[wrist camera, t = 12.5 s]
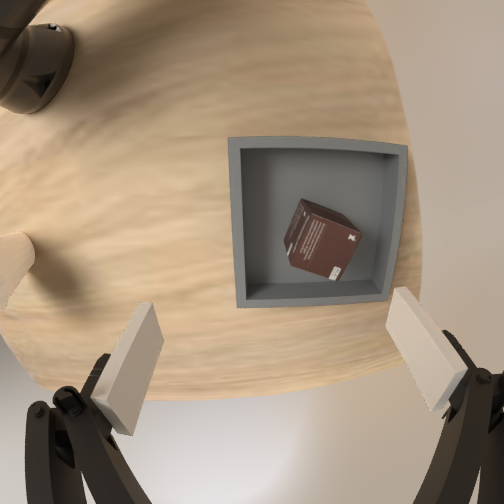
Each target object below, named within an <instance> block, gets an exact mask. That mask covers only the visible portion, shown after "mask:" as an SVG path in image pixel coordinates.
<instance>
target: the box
mask: <svg viewBox="0 0 504 504" xmlns="http://www.w3.org/2000/svg"><path fill="white" fill-rule="evenodd" d="M361 237H362V232H360V231H359V229H358V228H356V227H355V226H354V225H353V224H352V223H351V222H350V221H349V220H348V219H347V218H346V217H345V216H344V215H343V214H341V213H338V212H336V211H333V210H331V209H328V208H326V207H323V206H321V205H318V204H316V203H313V202H310V201H308V200H305V199H301V200H300V202H299V204H298V206H297V208H296V211H295V213H294V216H293V218H292V220H291V223H290V225H289V228H288V230H287V233H286V235H285V237H284V245H285V248H286V252H287V255H288V259H289V262H290V266H292V267H295V268H298V269H301V270H304V271H308V272H311V273H314V274H317V275H320V276H323V277H326V278H329V279H332V280H335V281H339V280H340V279H341V277H342V275H343V273H344V271H345V269H346V267H347V265H348V263H349V262H350V261H351V259H352V257H353V254H354V251H355V249H356V247H357V245H358V243H359V241H360V239H361Z"/></svg>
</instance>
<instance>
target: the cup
mask: <svg viewBox="0 0 504 504" xmlns="http://www.w3.org/2000/svg"><path fill="white" fill-rule="evenodd" d="M34 261H35V251H34V247H33V244H32V242H31V240H30V239H29V237H28V236H27V235H26V234H25V233H23V232H14V233H9V234H3V235H0V312H1V311H2V310H3V309H5V307H6V306H7V303H8V299H9V298H10V296H11V295H12V293H13V292H14V290H15V289H16V287H17V286H18V284H19V283H20V281H21V280H22V279H23V277H24V276H25V274H26V273H27V272H28V270H29V269H30V267H31V266H32V265H33V263H34Z"/></svg>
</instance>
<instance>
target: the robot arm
mask: <svg viewBox="0 0 504 504" xmlns="http://www.w3.org/2000/svg"><path fill="white" fill-rule="evenodd" d="M49 1H50V0H0V106H2V107H4V108H6V109H8V110H10V111H12V112H14V113H19V114H24V113H33V112H36V111H38V110H40V109H41V108H43V107H44V106H45V105H47V104H48V103H49V102H50V101H51V100H52V98H53V97H54V96H55V95H56V93H57V92H58V90H59V89H60V87H61V86H62V84H63V82H64V80H65V78H66V76H67V74H68V71H69V69H70V66H71V62H72V58H73V52H74V42H73V37H72V35H71V33H70V31H69V30H68V29H66V28H64V27H62V26H60V25H57V24H39V25H30V26H28V24H29V23H30V22H31V21H32V20H33V18H34V17H35V16H36V15H37V14H38V13H39V12H40V10H41V9H42V8H43V7H44V6H45V5H46V4H47V3H48V2H49ZM385 327H386V329H387V331H388V333H389V334H390V336H391V338H392V340H393V341H394V343H395V345H396V347H397V349H398V350H399V352H400V354H401V356H402V358H403V359H404V361H405V363H406V365H407V367H408V369H409V371H410V372H411V374H412V376H413V378H414V380H415V382H416V384H417V386H418V388H419V390H420V392H421V394H422V396H423V398H424V400H425V402H426V404H427V406H428V408H429V410H430V412H433V411H436V410H438V409H441V408H443V407H444V405H445V404H446V403H447V401H448V400H449V402H450V404H451V405H450V407H449V408H448V409H447V411H446V412H445V414H444V415H443V417H442V419H444V417H445V416H446V415H447V416H446V420H445V423H444V427H443V430H442V433H441V436H440V439H439V442H438V445H437V448H436V451H435V454H434V456H433V459H432V462H431V464H430V467H429V469H428V472H427V474H426V476H425V479H424V481H423V483H422V485H421V488H420V490H419V492H418V494H417V496H416V499H415V500H414V502H413V504H469V501H470V498H471V496H472V493H473V490H474V487H475V484H476V480H477V477H478V474H479V470H480V466H481V470H480V484H479V494H478V501H477V504H504V412H503V407H504V371H503V373H502V374H491V373H490V372H489V371H488V370H487V369H484V368H477V367H476V366H475V364H474V363H473V361H472V360H471V358H470V357H469V356H468V354H467V353H466V352H465V350H464V349H462V346H461V345H460V344H459V343H458V341H457V339H456V338H455V337H454V335H452V334H451V333H449V332H448V331H447V330H443V331H441V330H440V328H439V327H438V326H437V324H436V323H435V322H434V321H433V319H432V318H431V317H430V315H429V314H428V313H427V312H426V311H425V309H424V308H423V307H422V306H421V304H420V303H419V302H418V301H417V299H416V298H415V297H414V296H413V294H412V293H411V292H410V291H409V290H408V289H407V287H406V286H405V287H396V288H394V292H393V297H392V301H391V305H390V309H389V313H388V317H387V321H386V325H385ZM163 343H164V339H163V336H162V333H161V330H160V327H159V323H158V320H157V317H156V313H155V310H154V307H153V303H152V302H140V303H139V305H138V306H137V308H136V310H135V312H134V313H133V315H132V317H131V319H130V321H129V322H128V324H127V326H126V328H125V330H124V331H123V333H122V335H121V337H120V339H119V341H118V343H117V345H116V346H115V348H114V350H113V352H112V354H106V353H104V354H103V355H102V356H101V357H100V358H99V359H98V360H97V362H96V364H95V365H94V367H93V370H92V371H91V373H90V376H89V377H88V379H87V381H86V383H85V384H84V386H83V388H82V390H81V392H80V393H79V392H78V391H77V389H76V388H74V387H73V386H65V387H62V388H60V389H58V390H57V391H56V393H55V394H54V396H53V404H54V405H55V406H56V407H57V408H50V407H49V406H48V405H47V403H46V402H44V401H37V402H34V403H33V404H31V406H30V407H29V408H28V412H27V421H26V436H25V437H26V438H25V479H26V492H27V502H28V504H87V501H86V497H85V492H84V487H83V481H82V474H83V476H84V479H85V481H86V483H87V485H88V488H89V490H90V492H91V494H92V496H93V498H94V500H95V502H96V504H152V503H151V501H150V500H149V499H148V497H147V495H146V494H145V493H144V491H143V489H142V488H141V486H140V485H139V483H138V481H137V480H136V478H135V476H134V475H133V473H132V471H131V470H130V468H129V466H128V464H127V463H126V461H125V459H124V457H123V455H122V453H121V451H120V449H119V448H118V446H117V444H116V442H115V440H114V438H113V436H112V435H111V430H112V427H113V428H114V429H115V430H116V432H117V433H119V434H124V435H130V436H133V433H134V430H135V427H136V424H137V420H138V417H139V414H140V410H141V407H142V404H143V401H144V398H145V395H146V392H147V389H148V386H149V383H150V380H151V377H152V374H153V371H154V368H155V365H156V362H157V359H158V357H159V354H160V351H161V348H162V345H163ZM81 471H82V474H81Z"/></svg>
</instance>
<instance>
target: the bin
mask: <svg viewBox="0 0 504 504" xmlns="http://www.w3.org/2000/svg"><path fill="white" fill-rule="evenodd" d="M228 156H229V179H230V200H231V219H232V238H233V255H234V271H235V287H236V302H237V308H273V307H302V306H323V305H340V304H354V303H368V302H380V301H388V298H389V293H390V289H391V284H392V280H393V275H394V270H395V264H396V259H397V253H398V247H399V241H400V235H401V228H402V220H403V212H404V203H405V192H406V179H407V162H408V146H406V145H399V144H392V143H384V142H375V141H365V140H355V139H342V138H326V137H300V136H256V137H229V138H228ZM301 199H305V200H308V201H310V202H313V203H316V204H318V205H321V206H323V207H326V208H328V209H331V210H333V211H336V212H338V213H341V214H343V215H344V216H345V217H346V218H347V219H348V220H349V221H350V222H351V223H352V224H353V225H354V226H355V227H356V228H358V229H359V231H360V232H362V237H361V239H360V241H359V243H358V245H357V247H356V249H355V251H354V254H353V257H352V259H351V261H350V262H349V263H348V265H347V267H346V269H345V271H344V273H343V275H342V277H341V279H340V280H339V281H335V280H332V279H329V278H326V277H323V276H320V275H317V274H314V273H311V272H308V271H304V270H301V269H298V268H295V267H292V266H290V262H289V259H288V255H287V252H286V248H285V245H284V237H285V235H286V233H287V230H288V228H289V225H290V223H291V220H292V218H293V216H294V213H295V211H296V208H297V206H298V204H299V202H300V200H301Z"/></svg>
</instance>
